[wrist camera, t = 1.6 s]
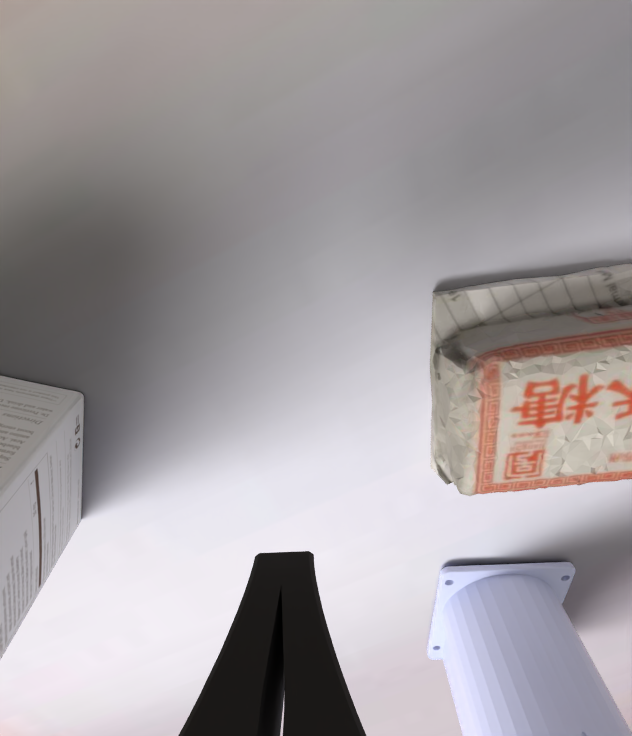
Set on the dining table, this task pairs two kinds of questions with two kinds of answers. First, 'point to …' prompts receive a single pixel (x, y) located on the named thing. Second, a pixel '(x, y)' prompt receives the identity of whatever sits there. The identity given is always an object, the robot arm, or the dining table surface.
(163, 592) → the dining table surface
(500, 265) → the dining table surface
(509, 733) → the robot arm
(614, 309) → the packaged product
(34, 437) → the supplement box
